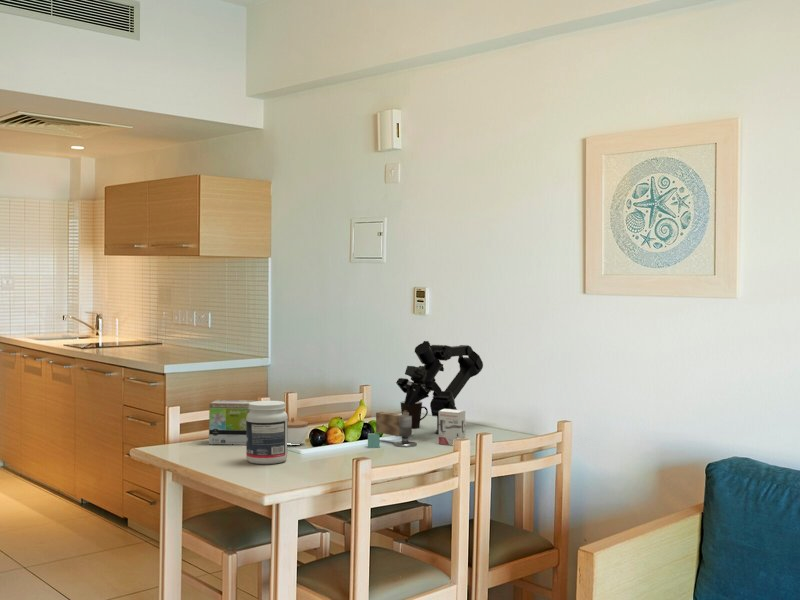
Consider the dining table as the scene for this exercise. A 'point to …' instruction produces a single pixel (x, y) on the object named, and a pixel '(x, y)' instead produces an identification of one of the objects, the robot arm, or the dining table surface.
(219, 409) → the tea box
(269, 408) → the supplement tub
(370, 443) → the stool pivot and socket
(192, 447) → the dining table surface
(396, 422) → the brown rectangular block
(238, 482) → the dining table surface
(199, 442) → the dining table surface
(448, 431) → the ink box
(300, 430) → the lidded jar
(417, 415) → the coffee mug
